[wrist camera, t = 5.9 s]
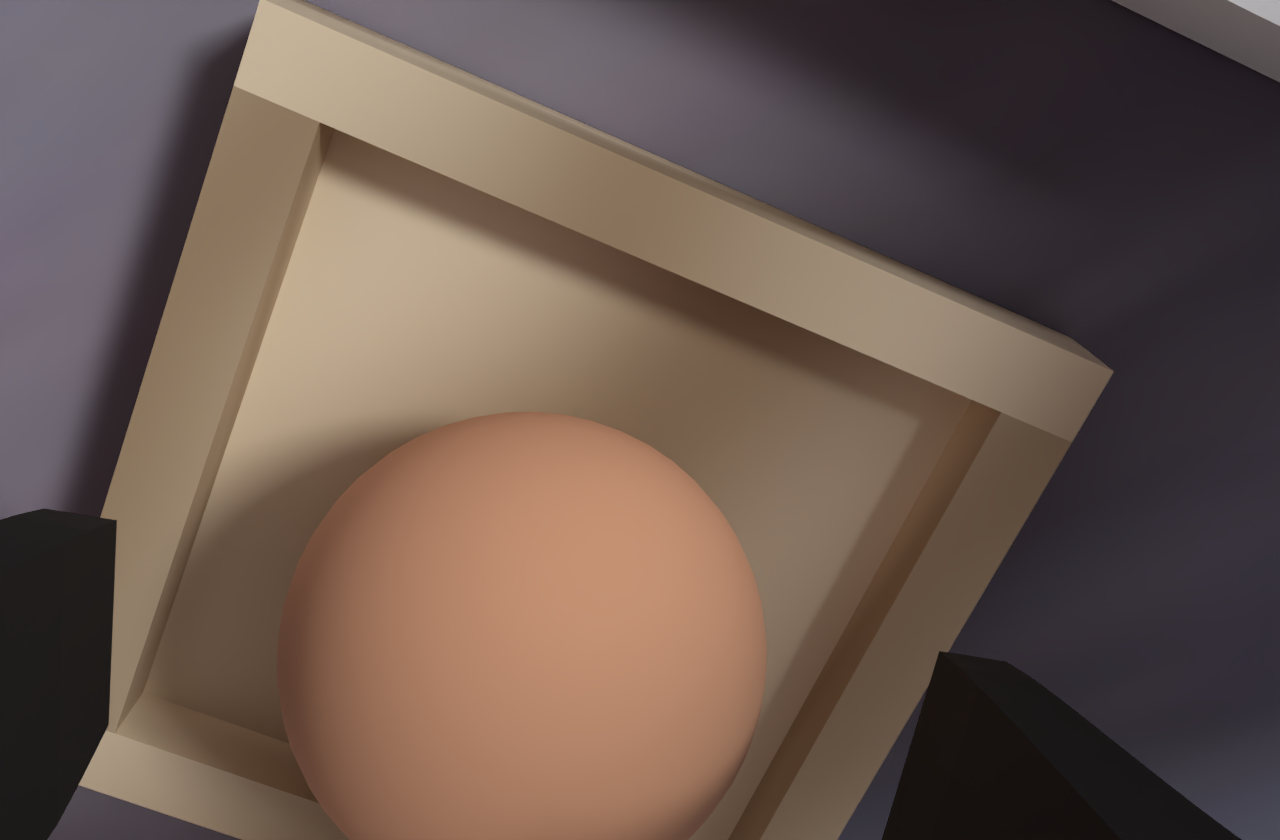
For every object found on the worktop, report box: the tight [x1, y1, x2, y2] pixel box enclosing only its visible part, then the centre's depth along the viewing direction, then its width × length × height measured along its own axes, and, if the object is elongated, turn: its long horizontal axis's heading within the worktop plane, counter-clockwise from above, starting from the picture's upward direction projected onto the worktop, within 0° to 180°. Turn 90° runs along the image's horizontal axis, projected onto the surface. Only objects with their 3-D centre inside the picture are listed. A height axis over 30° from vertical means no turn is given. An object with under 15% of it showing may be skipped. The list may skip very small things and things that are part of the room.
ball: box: [277, 412, 767, 840], centre depth 11 cm, size 4×4×4 cm
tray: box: [79, 0, 1114, 840], centre depth 13 cm, size 9×9×1 cm
